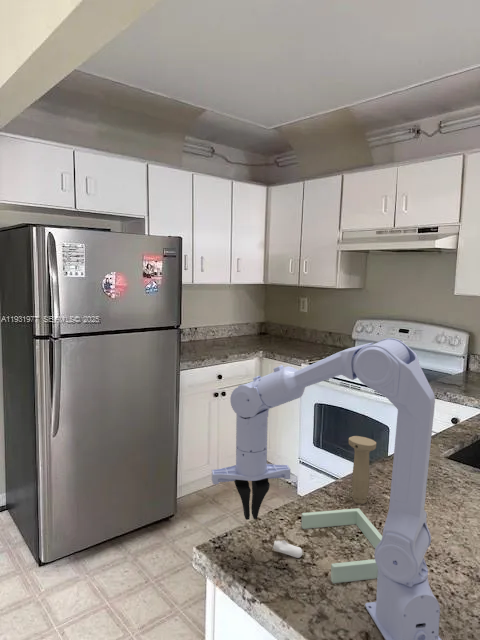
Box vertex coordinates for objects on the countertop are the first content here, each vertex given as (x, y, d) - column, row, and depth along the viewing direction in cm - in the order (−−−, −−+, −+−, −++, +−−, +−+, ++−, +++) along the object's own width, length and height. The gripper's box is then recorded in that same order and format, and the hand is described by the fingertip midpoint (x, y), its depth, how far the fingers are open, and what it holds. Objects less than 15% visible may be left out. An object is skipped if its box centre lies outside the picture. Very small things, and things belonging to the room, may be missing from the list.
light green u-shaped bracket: (401, 575, 81) (402, 559, 81) (332, 583, 79) (333, 567, 79) (358, 521, 99) (359, 508, 99) (301, 526, 97) (301, 513, 96)
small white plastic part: (297, 567, 83) (297, 551, 83) (270, 554, 87) (270, 539, 87) (306, 557, 86) (307, 542, 86) (280, 545, 90) (280, 531, 90)
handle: (366, 510, 103) (368, 447, 102) (342, 499, 108) (344, 439, 107) (377, 503, 107) (380, 442, 105) (353, 493, 111) (356, 434, 110)
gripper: (283, 436, 88) (282, 502, 90) (210, 440, 86) (209, 508, 87) (294, 450, 81) (292, 522, 83) (214, 455, 79) (213, 528, 80)
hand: (250, 516), depth 85 cm, fingers closed
